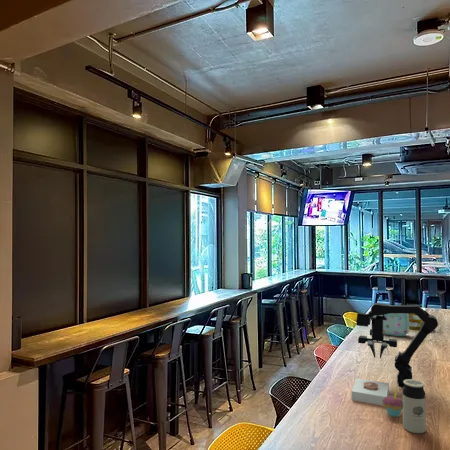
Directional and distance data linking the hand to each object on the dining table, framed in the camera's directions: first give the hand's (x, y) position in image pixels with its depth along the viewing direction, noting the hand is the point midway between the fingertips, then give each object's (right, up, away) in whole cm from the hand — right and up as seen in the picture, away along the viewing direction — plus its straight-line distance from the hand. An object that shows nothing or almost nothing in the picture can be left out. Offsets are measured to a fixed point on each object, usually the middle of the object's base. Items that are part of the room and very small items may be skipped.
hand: (377, 357), depth 203 cm
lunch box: (+46, -15, +95) cm, 107 cm away
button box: (-10, -12, -19) cm, 24 cm away
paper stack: (+76, -15, +114) cm, 138 cm away
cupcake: (-8, -11, -37) cm, 40 cm away
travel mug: (-5, -11, -50) cm, 51 cm away
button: (-10, -10, -18) cm, 24 cm away
